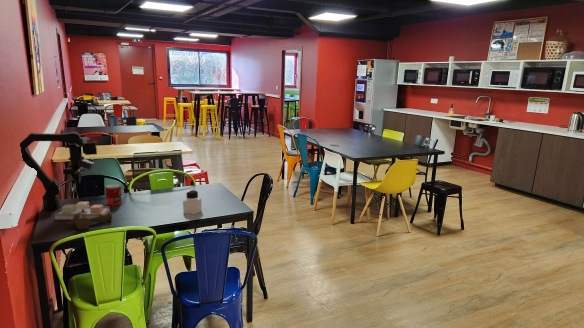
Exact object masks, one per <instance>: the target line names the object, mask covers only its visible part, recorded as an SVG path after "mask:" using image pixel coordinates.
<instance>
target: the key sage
mask: <svg viewBox="0 0 584 328" xmlns="http://www.w3.org/2000/svg"><path fill="white" fill-rule="evenodd" d="M75 206H76V204H65V205H63V206H62V207H61V211H62V213H72V212H73V211H75V210H76V207H75Z"/></svg>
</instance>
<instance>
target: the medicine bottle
mask: <svg viewBox="0 0 584 328" xmlns="http://www.w3.org/2000/svg"><path fill="white" fill-rule="evenodd" d="M185 193H186V195H185V196H186V198H185V199H184V200H183V201H182V210H183V212H182V213H183V214H186V215H191V214H192V215H193V216H195V215H197V214H199V213H200V211H201V212H202V211H203V210H202V198H199V192H198V191H197V190H195V189H192V190H191V189H189V190H187V191H186V192H185ZM198 212H199V213H198Z"/></svg>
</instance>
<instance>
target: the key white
mask: <svg viewBox="0 0 584 328" xmlns="http://www.w3.org/2000/svg"><path fill="white" fill-rule="evenodd" d="M75 206H76V210H86V209H87V208H88V207H89V206H90V202H89V201H78V202H77V203H76V204H75Z"/></svg>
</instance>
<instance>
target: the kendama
mask: <svg viewBox="0 0 584 328" xmlns="http://www.w3.org/2000/svg"><path fill="white" fill-rule="evenodd" d="M108 221H109V222H112V221H113V215H112V212H111V211H110V212H108V213H106V214H100V215H98V216H95V217H92V218H85V215H84V214H82V213H79V214H76V215H74V217H73V219H72V221H69V222H66V225H71V224H75V227H76V228H77V229H78V230H81V231H82V230H86V229H88V228H89V227H90V225H91V222H101V223H103V222H108Z"/></svg>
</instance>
